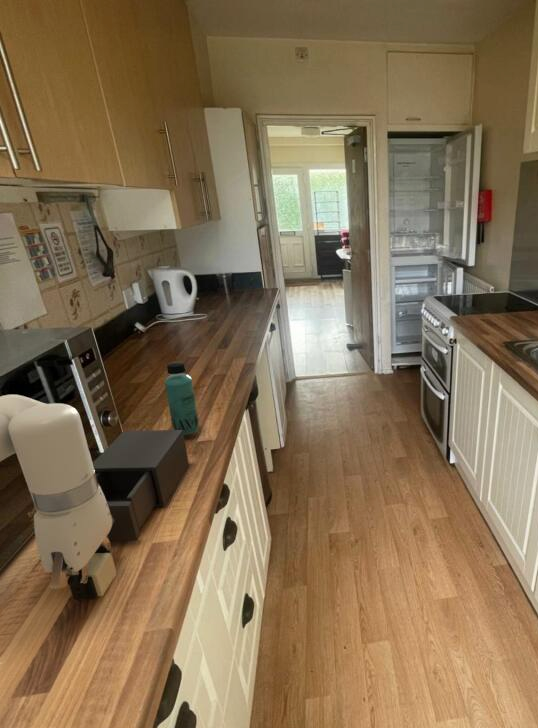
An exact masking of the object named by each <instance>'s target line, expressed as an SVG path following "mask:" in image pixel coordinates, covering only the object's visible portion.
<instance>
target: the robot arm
mask: <svg viewBox="0 0 538 728" xmlns="http://www.w3.org/2000/svg"><path fill="white" fill-rule="evenodd" d="M87 441H88V440H87V437H86V434H85V430H84V426H83V422H82V419H81V415H80V413H79V412H78V410H77V409H76V408H75V407H73V406H72V405H69V404H66V403H60V402H59V403H58V402H57V403H56V402H55V403H54V402H53V403H45V402H42V401H39V400H36V399H33V398H31V397H27V396H25V395H20V394H6V395H1V396H0V463H1V462H2V461H4V460H6V459H7V458H9V457H11V456H12V455H15V454H16V456H17V460H18V462H19V465H20V467H21V468H20V469H21V471H22V474H23V477H24V479H25V483H26V486H27V488H28V491H29V494H30V496H31V499H32V503H33V505H34V508H35V510H36V512H35V513H34V514H33V529H34V537H35V542H36V547H37V550H38V554H39V559H40V561H41V564H42V568H43V569H44V572H45V573H47V574H48V573H49V574H50V573H51V576H50V583H49V589H50V590H55V589H56V590H59V589H61V590H62V589H65V588H66V587H68V588H69V587H70V588H69V591H70V590H71V591H70V594H71V593H72V594H71V597H72V596H73V597H72V598H73V600H75V601H82V600H96V598H97V597H98V596H97V592H96V589H95V586H94V582H93V579H92V577H88V570H87V562H88V561H89V560H90V558H91V557H92V556H93V554H94V553H111V550H110V549H111V545H112V544H111V541H109V534H110V530H111V527H112V515H111V514H110V511H109V507H108V504H107V501H106V499H105V496H104V494H103V492H102V490H101V488H100V486H99V484H98V481H97V477H96V474H95V470H94V467H93V460H92V455H91V453H90V449H89V445H88V442H87ZM72 569H73V570H74V571H75V572H77V571H79V575H72Z"/></svg>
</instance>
